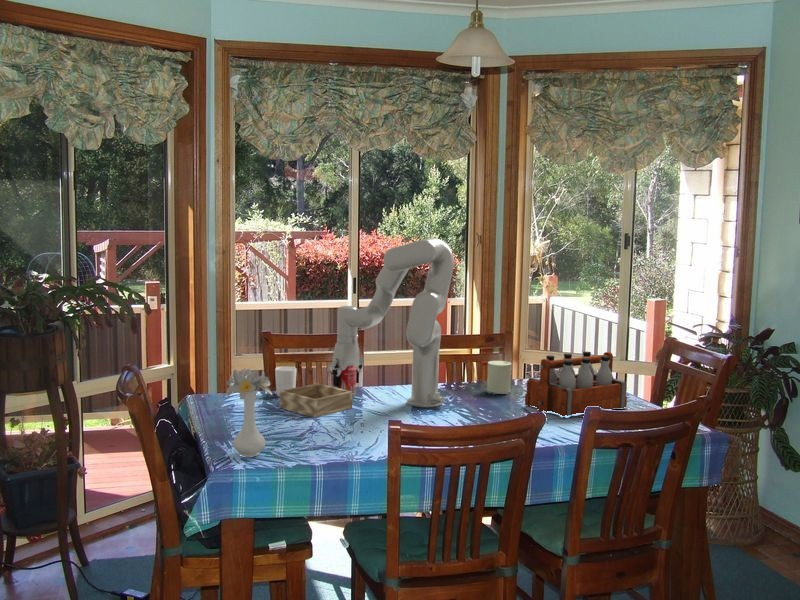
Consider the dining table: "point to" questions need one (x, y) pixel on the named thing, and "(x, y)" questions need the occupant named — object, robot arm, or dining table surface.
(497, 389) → the can
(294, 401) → the crate
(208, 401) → the dining table surface
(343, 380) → the soda can
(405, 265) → the robot arm
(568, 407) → the milk bottle holder
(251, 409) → the flower vase
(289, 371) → the white cup
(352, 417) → the dining table surface
